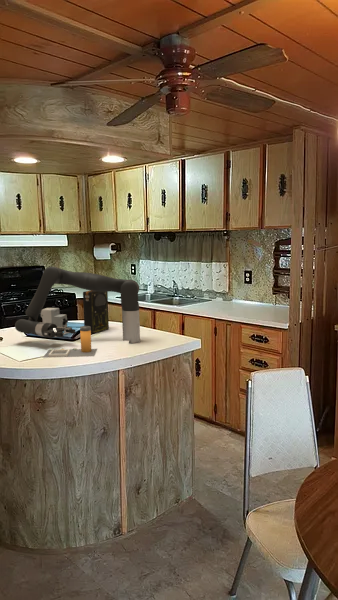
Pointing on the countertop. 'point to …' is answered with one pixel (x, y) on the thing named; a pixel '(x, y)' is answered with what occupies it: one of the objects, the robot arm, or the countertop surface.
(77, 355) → the board
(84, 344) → the post
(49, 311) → the circuit breaker
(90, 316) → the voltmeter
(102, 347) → the countertop surface
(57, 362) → the countertop surface
